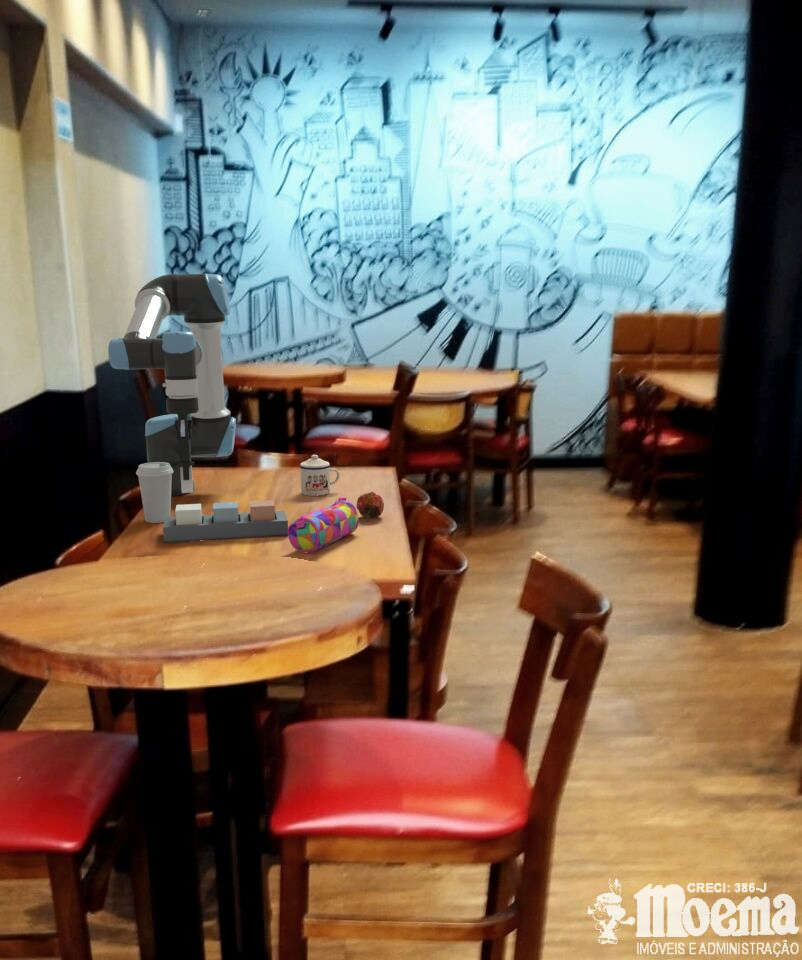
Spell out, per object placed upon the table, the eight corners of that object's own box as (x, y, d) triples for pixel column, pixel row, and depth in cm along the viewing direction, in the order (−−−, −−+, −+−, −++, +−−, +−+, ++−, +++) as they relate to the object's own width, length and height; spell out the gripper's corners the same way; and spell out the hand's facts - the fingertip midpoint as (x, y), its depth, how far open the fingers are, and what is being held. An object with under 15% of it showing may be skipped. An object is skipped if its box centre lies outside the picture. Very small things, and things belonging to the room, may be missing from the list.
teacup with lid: (303, 497, 254) (302, 459, 251) (298, 490, 262) (297, 453, 260) (342, 494, 257) (342, 456, 254) (336, 488, 266) (336, 451, 263)
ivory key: (177, 522, 216) (176, 504, 215) (202, 520, 217) (201, 503, 216) (176, 528, 210) (175, 510, 209) (201, 527, 211) (200, 509, 210)
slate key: (214, 520, 218) (213, 503, 217) (238, 518, 219) (237, 501, 218) (214, 526, 212) (213, 508, 211) (238, 525, 213) (237, 507, 212)
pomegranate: (382, 529, 228) (392, 500, 234) (373, 512, 223) (383, 482, 229) (357, 529, 231) (367, 500, 237) (348, 512, 226) (358, 483, 232)
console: (166, 532, 218) (165, 517, 217) (285, 525, 224) (284, 510, 223) (164, 543, 208) (163, 527, 207) (288, 536, 214) (287, 520, 213)
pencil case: (328, 529, 220) (327, 495, 218) (361, 533, 217) (361, 498, 215) (285, 553, 201) (284, 515, 199) (321, 557, 197) (320, 519, 195)
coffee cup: (166, 525, 224) (162, 469, 221) (132, 523, 226) (128, 467, 223) (182, 516, 233) (179, 462, 230) (150, 514, 235) (146, 460, 232)
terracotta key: (250, 518, 219) (249, 501, 218) (273, 517, 220) (273, 500, 220) (250, 524, 214) (250, 506, 213) (275, 523, 215) (274, 505, 214)
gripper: (167, 394, 212) (173, 487, 217) (164, 400, 200) (170, 498, 205) (198, 393, 214) (203, 485, 218) (197, 399, 201) (202, 497, 206)
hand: (187, 492), depth 211 cm, fingers closed
